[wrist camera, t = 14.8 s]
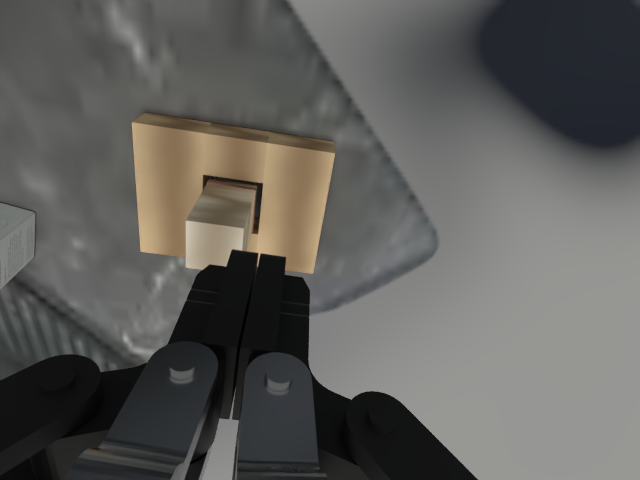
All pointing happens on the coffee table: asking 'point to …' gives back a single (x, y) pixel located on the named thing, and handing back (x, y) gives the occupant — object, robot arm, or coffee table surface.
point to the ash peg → (220, 222)
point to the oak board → (235, 163)
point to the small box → (15, 240)
